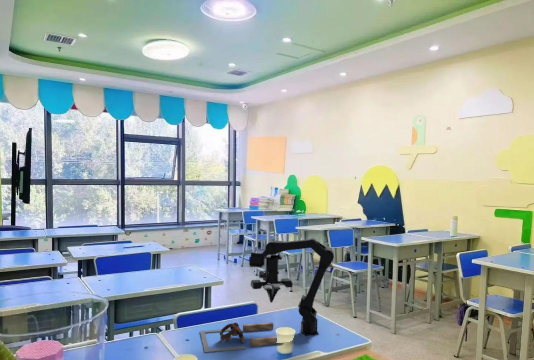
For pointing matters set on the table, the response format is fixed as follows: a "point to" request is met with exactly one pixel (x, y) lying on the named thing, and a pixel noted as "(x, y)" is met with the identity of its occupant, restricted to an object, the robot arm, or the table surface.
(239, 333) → the brown curved piece
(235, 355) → the table surface
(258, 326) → the holder
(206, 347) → the bay
